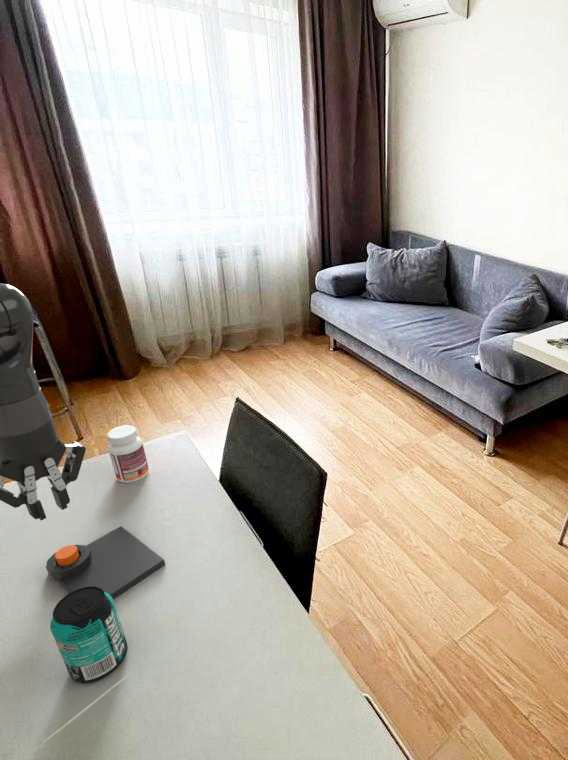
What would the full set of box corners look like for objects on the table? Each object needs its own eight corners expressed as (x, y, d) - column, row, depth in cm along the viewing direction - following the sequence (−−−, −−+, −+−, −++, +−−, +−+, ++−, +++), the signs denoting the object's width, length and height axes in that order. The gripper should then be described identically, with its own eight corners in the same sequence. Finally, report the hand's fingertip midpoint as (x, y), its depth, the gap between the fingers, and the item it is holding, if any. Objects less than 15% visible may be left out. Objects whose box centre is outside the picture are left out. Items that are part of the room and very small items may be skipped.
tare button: (54, 561, 83) (51, 553, 82) (74, 549, 85) (71, 542, 85) (62, 569, 82) (60, 561, 81) (82, 557, 84) (80, 550, 83)
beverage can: (108, 631, 75) (89, 574, 70) (139, 651, 73) (122, 594, 68) (59, 672, 69) (34, 613, 64) (90, 695, 67) (67, 636, 62)
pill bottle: (155, 468, 110) (145, 426, 106) (134, 486, 105) (123, 441, 100) (131, 464, 111) (120, 421, 106) (109, 481, 106) (96, 437, 101)
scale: (44, 574, 84) (39, 561, 82) (121, 530, 94) (117, 518, 92) (87, 617, 77) (83, 603, 76) (165, 565, 87) (162, 552, 86)
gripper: (60, 394, 79) (87, 480, 86) (-54, 433, 68) (-13, 528, 76) (84, 409, 76) (110, 497, 83) (-33, 452, 65) (9, 549, 72)
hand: (51, 511), depth 79 cm, fingers closed
